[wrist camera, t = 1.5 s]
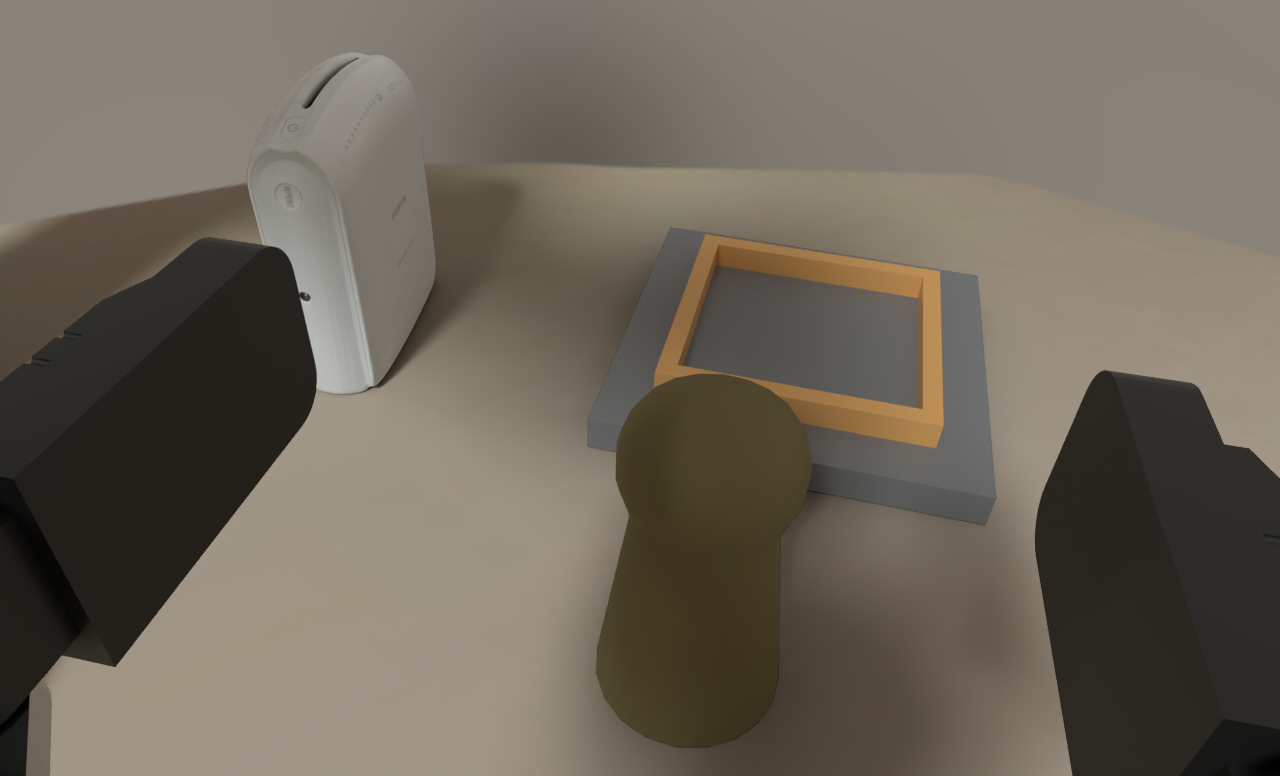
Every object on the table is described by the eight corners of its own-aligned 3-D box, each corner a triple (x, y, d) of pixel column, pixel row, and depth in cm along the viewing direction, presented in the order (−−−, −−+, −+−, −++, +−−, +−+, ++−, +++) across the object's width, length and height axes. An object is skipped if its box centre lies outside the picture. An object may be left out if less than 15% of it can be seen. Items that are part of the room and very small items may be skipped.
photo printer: (381, 403, 40) (331, 133, 32) (285, 392, 40) (211, 121, 32) (448, 275, 47) (422, 32, 39) (368, 266, 48) (325, 24, 40)
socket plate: (587, 446, 38) (587, 396, 36) (668, 251, 50) (671, 207, 48) (985, 524, 36) (1005, 476, 34) (969, 300, 48) (984, 255, 46)
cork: (682, 560, 34) (708, 315, 27) (815, 664, 30) (885, 417, 23) (557, 659, 30) (550, 408, 23) (693, 788, 27) (733, 543, 20)
